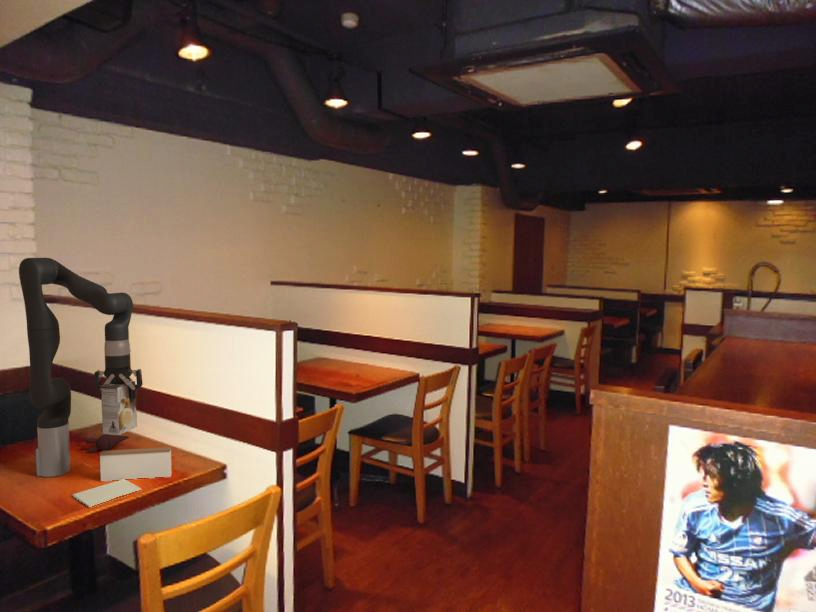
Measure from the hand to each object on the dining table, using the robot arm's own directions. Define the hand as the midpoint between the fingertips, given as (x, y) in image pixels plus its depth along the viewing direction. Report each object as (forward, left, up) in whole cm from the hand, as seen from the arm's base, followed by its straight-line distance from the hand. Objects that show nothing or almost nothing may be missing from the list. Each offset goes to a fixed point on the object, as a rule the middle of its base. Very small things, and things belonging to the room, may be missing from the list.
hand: (119, 400), depth 184 cm
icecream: (-14, +34, -28) cm, 47 cm away
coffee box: (0, 0, -10) cm, 10 cm away
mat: (-2, -9, -28) cm, 30 cm away
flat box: (+4, +3, -28) cm, 29 cm away
